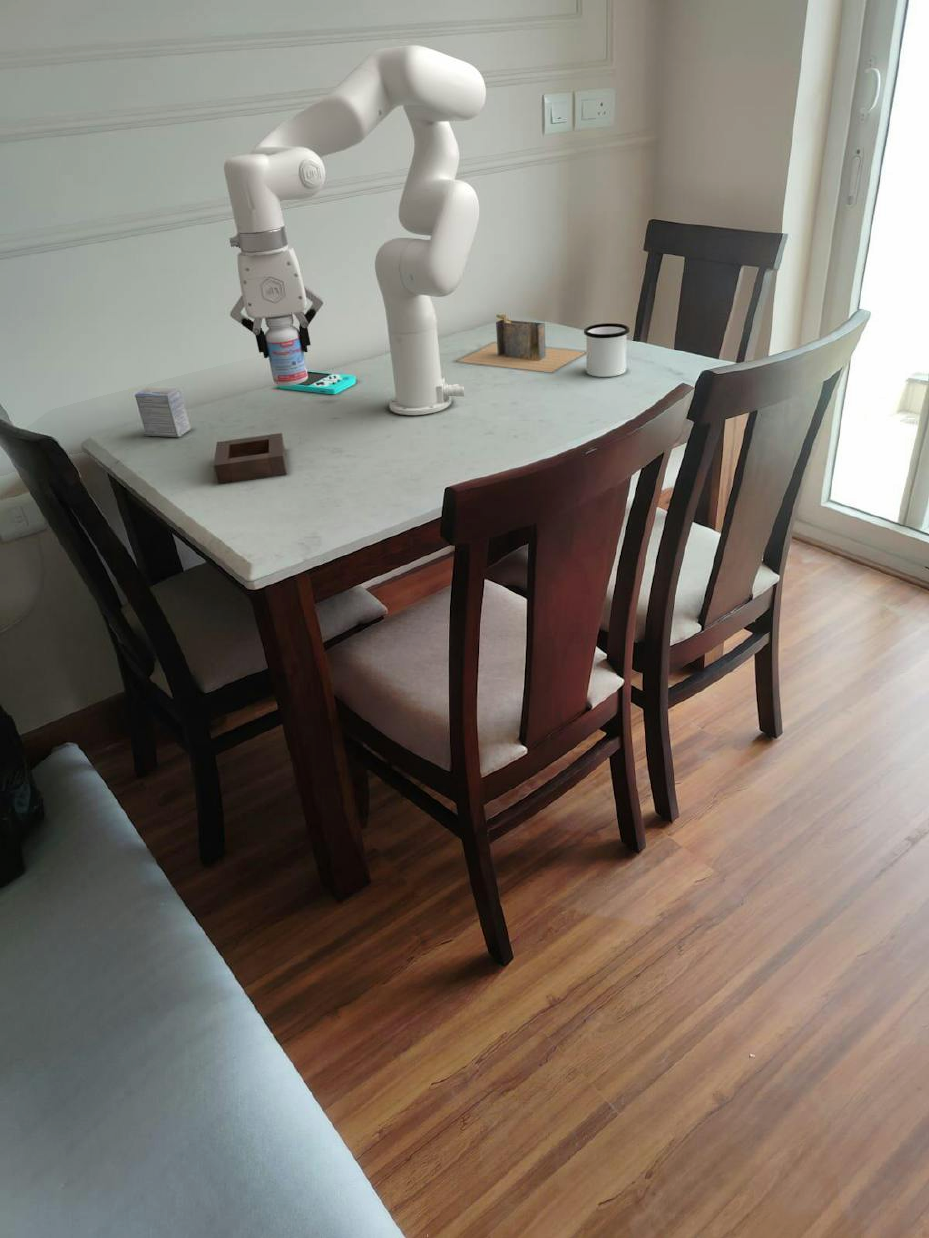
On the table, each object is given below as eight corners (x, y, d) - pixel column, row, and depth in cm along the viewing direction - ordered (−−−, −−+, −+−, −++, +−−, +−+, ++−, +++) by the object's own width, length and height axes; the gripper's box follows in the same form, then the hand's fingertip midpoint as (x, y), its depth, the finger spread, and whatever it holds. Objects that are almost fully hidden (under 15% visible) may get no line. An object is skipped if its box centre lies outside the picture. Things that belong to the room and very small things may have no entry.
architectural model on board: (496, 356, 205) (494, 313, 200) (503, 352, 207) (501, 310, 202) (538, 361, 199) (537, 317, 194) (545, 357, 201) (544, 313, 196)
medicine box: (191, 430, 177) (181, 388, 173) (178, 438, 174) (167, 395, 169) (158, 428, 180) (147, 386, 175) (145, 436, 176) (133, 394, 172)
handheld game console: (333, 395, 190) (332, 388, 189) (276, 388, 197) (275, 382, 196) (360, 381, 197) (360, 375, 196) (304, 375, 204) (303, 369, 204)
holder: (285, 450, 163) (281, 432, 161) (286, 474, 153) (282, 455, 152) (220, 460, 162) (216, 441, 160) (218, 484, 152) (213, 465, 150)
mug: (616, 380, 183) (617, 336, 178) (576, 376, 188) (575, 332, 183) (640, 364, 191) (642, 321, 187) (601, 360, 196) (601, 318, 191)
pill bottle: (280, 389, 151) (265, 322, 145) (270, 381, 156) (255, 315, 149) (313, 381, 153) (300, 315, 147) (302, 373, 158) (289, 308, 151)
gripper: (207, 252, 138) (234, 366, 148) (318, 238, 140) (337, 351, 149) (210, 244, 144) (236, 354, 154) (315, 230, 146) (334, 340, 156)
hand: (285, 352), depth 151 cm, fingers closed on pill bottle, 6 cm apart
